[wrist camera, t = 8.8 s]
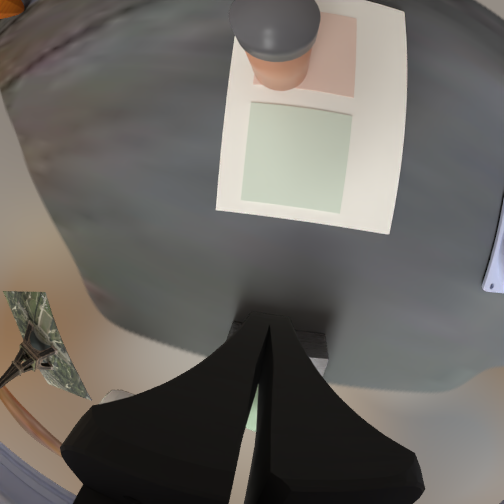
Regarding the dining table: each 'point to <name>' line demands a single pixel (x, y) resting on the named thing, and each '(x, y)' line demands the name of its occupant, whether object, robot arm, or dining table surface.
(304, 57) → the marker
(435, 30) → the dining table surface
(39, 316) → the eiffel tower figurine
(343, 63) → the picture sheet
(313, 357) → the frame
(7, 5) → the carrot
